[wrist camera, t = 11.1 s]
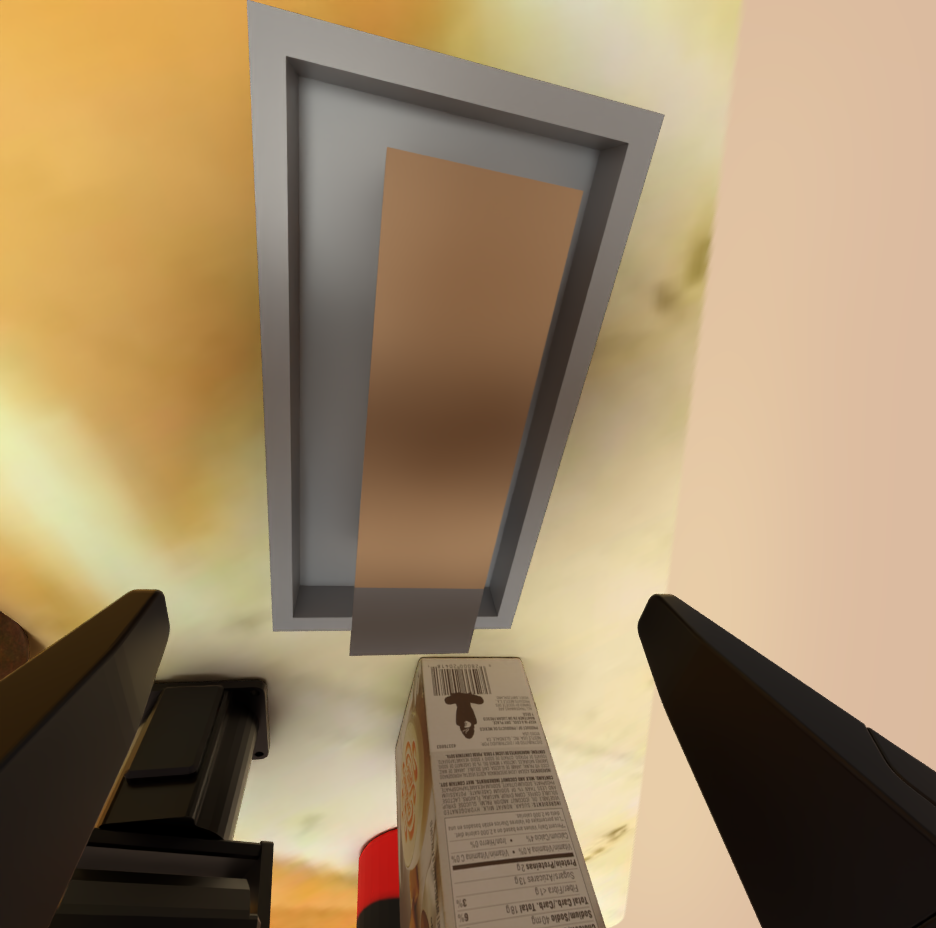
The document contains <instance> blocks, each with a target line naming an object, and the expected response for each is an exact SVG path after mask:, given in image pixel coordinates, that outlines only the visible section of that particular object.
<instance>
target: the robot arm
mask: <svg viewBox="0 0 936 928" xmlns="http://www.w3.org/2000/svg"><path fill="white" fill-rule="evenodd" d="M169 632H170V624H169V618H168V613H167V607H166V602H165V597H164V594H163V592H162V591H160V590H149V589H136V590H132V591H130V592H128V593H126V594H125V595H123V596H122V597H120V598H119V599H118V600H116V601H115V602H113V603H112V604H110V605H109V606H107V607H106V608H105V609H103V610H102V611H100V612H99V613H97V614H96V615H94V616H93V617H92V618H90V619H89V620H87V621H86V622H84V623H83V624H81V625H80V626H79V627H77V628H76V629H74V630H73V631H71V632H70V633H68V634H67V635H66V636H64V637H63V638H61V639H60V640H58V641H57V642H55V643H54V644H52V645H51V646H50V647H48V648H47V649H45V650H44V651H42V652H41V653H39V654H38V655H37V656H35V657H34V658H32V659H31V660H29V661H28V662H26V663H25V664H24V665H22V666H21V667H19V668H18V669H16V670H15V671H13V672H12V673H11V674H9V675H8V676H6V677H5V678H3V679H2V680H0V928H269V926H270V906H271V886H272V866H273V846H274V843H273V842H269V841H261V842H260V843H253V842H242V841H233V837H234V832H235V828H236V824H237V820H238V815H239V811H240V807H241V803H242V798H243V794H244V790H245V786H246V781H247V777H248V773H249V769H250V764H251V760H255V759H263V758H265V757H267V756H268V753H269V748H270V741H269V723H268V704H267V686H266V684H265V683H264V682H262V681H259V680H248V681H219V682H190V683H160V684H153V683H154V680H155V677H156V674H157V671H158V668H159V665H160V662H161V659H162V656H163V653H164V650H165V647H166V644H167V641H168V637H169ZM638 634H639V637H640V640H641V643H642V646H643V649H644V652H645V655H646V658H647V661H648V663H649V666H650V669H651V672H652V675H653V678H654V681H655V684H656V687H657V690H658V693H659V696H660V698H661V701H662V703H663V706H664V709H665V711H666V713H667V716H668V718H669V720H670V723H671V725H672V727H673V730H674V732H675V734H676V736H677V738H678V741H679V743H680V745H681V747H682V750H683V752H684V754H685V756H686V758H687V761H688V763H689V765H690V767H691V770H692V772H693V774H694V777H695V779H696V781H697V783H698V786H699V788H700V790H701V792H702V795H703V797H704V799H705V801H706V803H707V806H708V808H709V810H710V812H711V815H712V817H713V819H714V821H715V824H716V826H717V828H718V830H719V833H720V835H721V837H722V839H723V842H724V844H725V846H726V848H727V850H728V853H729V855H730V857H731V859H732V862H733V864H734V866H735V868H736V870H737V873H738V875H739V877H740V880H741V882H742V884H743V886H744V888H745V891H746V893H747V895H748V898H749V900H750V902H751V904H752V906H753V909H754V911H755V913H756V916H757V918H758V920H759V922H760V924H761V927H762V928H936V772H935V771H934V770H932V769H931V768H929V767H928V766H926V765H925V764H923V763H922V762H920V761H919V760H917V759H916V758H914V757H913V756H911V755H910V754H908V753H907V752H905V751H904V750H902V749H901V748H899V747H897V746H896V745H894V744H893V743H892V742H890V741H888V740H887V739H885V738H884V737H883V736H881V735H880V734H878V733H877V732H875V731H874V730H872V729H871V728H866V726H865V725H864V724H863V723H862V722H860V721H859V720H857V719H856V718H854V717H853V716H851V715H850V714H849V713H847V712H846V711H844V710H843V709H841V708H840V707H838V706H837V705H835V704H834V703H832V702H831V701H829V700H828V699H826V698H825V697H823V696H822V695H821V694H819V693H818V692H816V691H815V690H813V689H812V688H810V687H809V686H807V685H806V684H804V683H803V682H801V681H800V680H798V679H797V678H795V677H794V676H792V675H791V674H790V673H788V672H787V671H785V670H783V669H782V668H780V667H779V666H778V665H776V664H775V663H773V662H772V661H770V660H768V659H767V658H766V657H764V656H763V655H761V654H760V653H758V652H757V651H756V650H754V649H753V648H751V647H750V646H748V645H747V644H745V643H744V642H742V641H741V640H739V639H738V638H736V637H735V636H733V635H732V634H730V633H729V632H727V631H726V630H725V629H723V628H722V627H720V626H718V625H717V624H716V623H714V622H713V621H711V620H710V619H708V618H707V617H705V616H704V615H702V614H700V613H699V612H698V611H696V610H695V609H693V608H692V607H690V606H689V605H687V604H686V603H685V602H683V601H682V600H680V599H679V598H677V597H676V596H674V595H670V594H654V595H652V596H651V597H650V598H649V600H648V602H647V604H646V607H645V609H644V611H643V613H642V615H641V617H640V619H639V621H638Z"/></svg>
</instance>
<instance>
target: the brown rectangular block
mask: <svg viewBox="0 0 936 928" xmlns="http://www.w3.org/2000/svg"><path fill="white" fill-rule="evenodd" d="M582 195H583V191H582V190H577V189H573V188H568V187H564V186H559V185H555V184H550V183H546V182H541V181H537V180H533V179H528V178H524V177H519V176H515V175H510V174H506V173H501V172H497V171H493V170H488V169H484V168H479V167H475V166H470V165H466V164H461V163H457V162H452V161H448V160H444V159H439V158H435V157H430V156H426V155H421V154H417V153H412V152H408V151H403V150H399V149H395V148H390V147H387V152H386V164H385V176H384V190H383V204H382V217H381V231H380V244H379V258H378V272H377V285H376V299H375V313H374V326H373V340H372V353H371V367H370V381H369V394H368V408H367V422H366V435H365V449H364V462H363V476H362V490H361V503H360V517H359V531H358V544H357V558H356V572H355V586H354V600H353V614H352V628H351V642H350V656H363V655H406V654H450V653H468V651H469V647H470V643H471V639H472V635H473V631H474V627H475V623H476V619H477V615H478V611H479V607H480V603H481V599H482V595H483V591H484V587H485V583H486V579H487V575H488V571H489V567H490V563H491V559H492V555H493V551H494V547H495V543H496V539H497V535H498V531H499V527H500V523H501V519H502V515H503V511H504V507H505V503H506V499H507V495H508V491H509V487H510V483H511V479H512V475H513V471H514V467H515V463H516V459H517V455H518V451H519V447H520V443H521V439H522V435H523V431H524V427H525V423H526V419H527V415H528V411H529V407H530V403H531V399H532V395H533V391H534V387H535V383H536V379H537V375H538V371H539V367H540V363H541V359H542V355H543V351H544V347H545V343H546V339H547V335H548V331H549V327H550V323H551V319H552V315H553V311H554V307H555V303H556V299H557V295H558V291H559V287H560V283H561V279H562V275H563V271H564V267H565V263H566V259H567V255H568V251H569V247H570V243H571V239H572V235H573V231H574V227H575V223H576V219H577V215H578V211H579V207H580V203H581V199H582Z"/></svg>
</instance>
